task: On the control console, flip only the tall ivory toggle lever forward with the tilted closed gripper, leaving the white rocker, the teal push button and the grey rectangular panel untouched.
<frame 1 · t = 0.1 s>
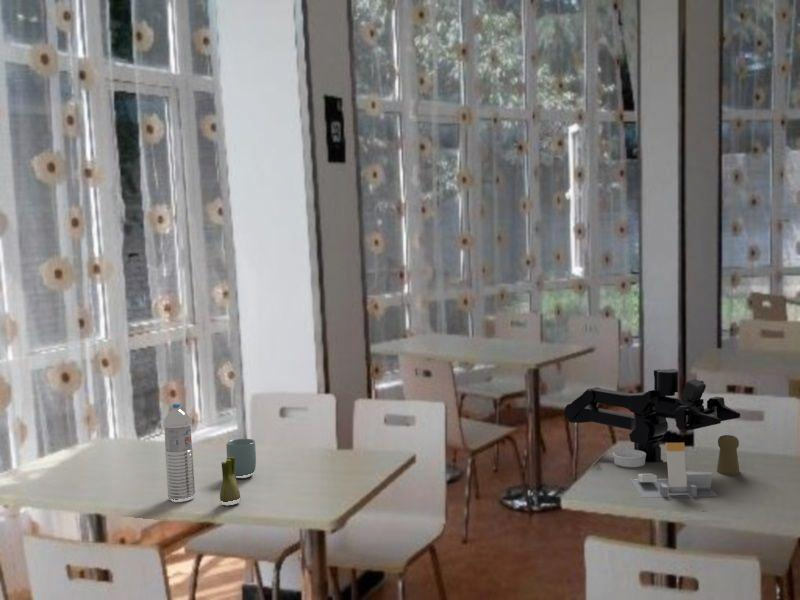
hand: (730, 418, 226), 17 cm above the table, tool horizontal, fingers open, 9 cm apart
grey rectangular panel: (698, 480, 216), point 4 cm above the table, hinge at 20.0°
rocker: (647, 477, 222), point 3 cm above the table, hinge at -12.0°
button: (691, 477, 221), point 3 cm above the table, slide at 0.0 cm
lever: (676, 467, 214), point 8 cm above the table, hinge at -15.0°
water bottle: (181, 499, 228), on the table
cup: (242, 477, 246), on the table
cork: (728, 477, 231), on the table
ramekin: (629, 469, 242), on the table
console: (672, 493, 220), on the table
fennel bulb: (230, 505, 222), on the table
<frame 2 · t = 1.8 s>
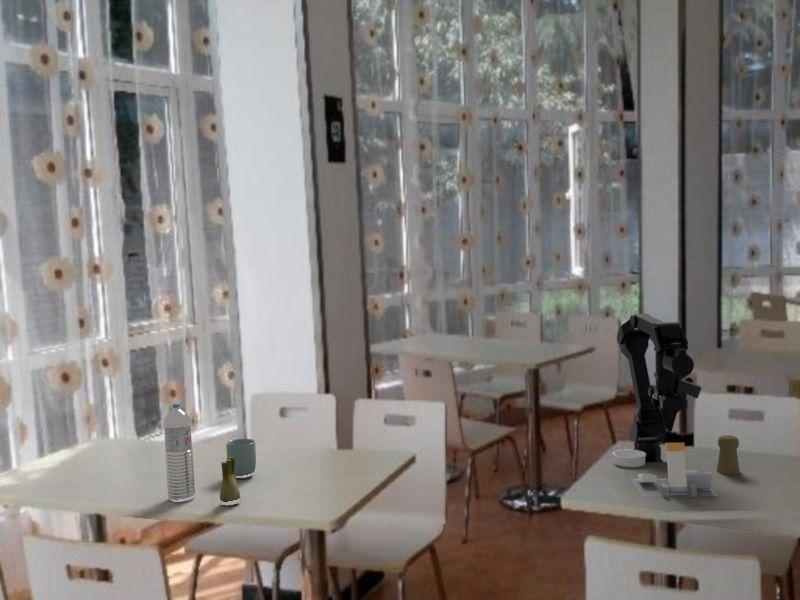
hand: (667, 428, 232), 13 cm above the table, tool pointing down, fingers open, 5 cm apart
nothing on the table moved.
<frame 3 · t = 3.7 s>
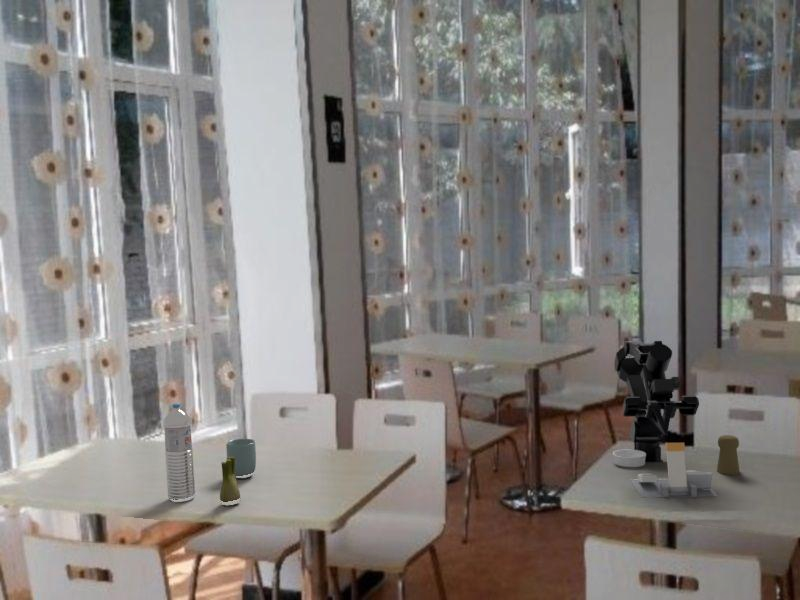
hand: (665, 434, 225), 13 cm above the table, tool tilted 45°, fingers closed
nothing on the table moved.
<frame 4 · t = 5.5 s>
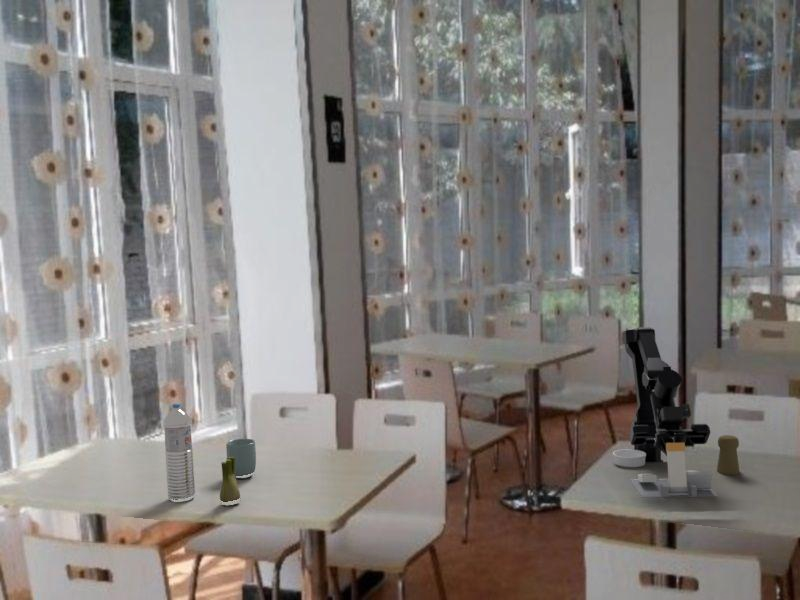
hand: (675, 464, 215), 8 cm above the table, tool tilted 45°, fingers closed, pressing on lever
lever: (676, 467, 214), point 8 cm above the table, hinge at -13.1°, touching gripper
everything else where it was.
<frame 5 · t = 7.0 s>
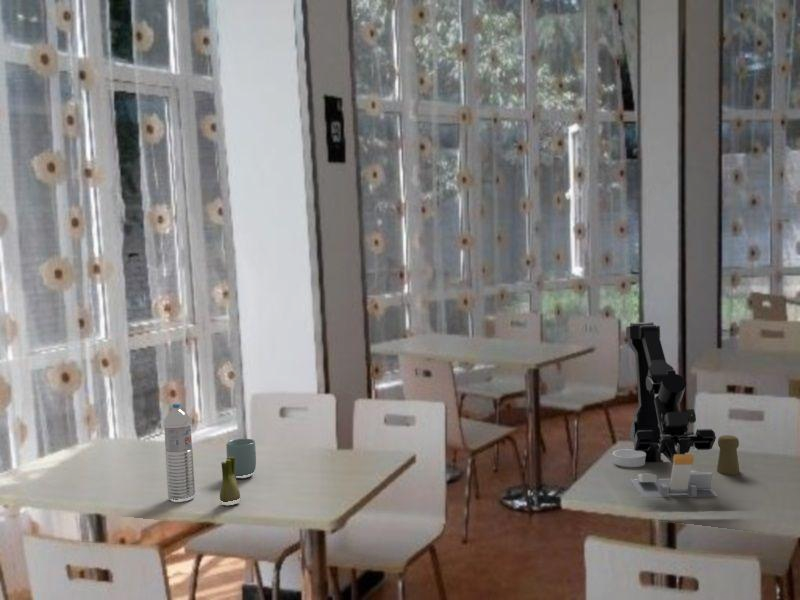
hand: (680, 470, 211), 8 cm above the table, tool tilted 45°, fingers closed, pressing on lever
lever: (680, 474, 211), point 7 cm above the table, hinge at 29.5°, touching gripper
everything else where it was.
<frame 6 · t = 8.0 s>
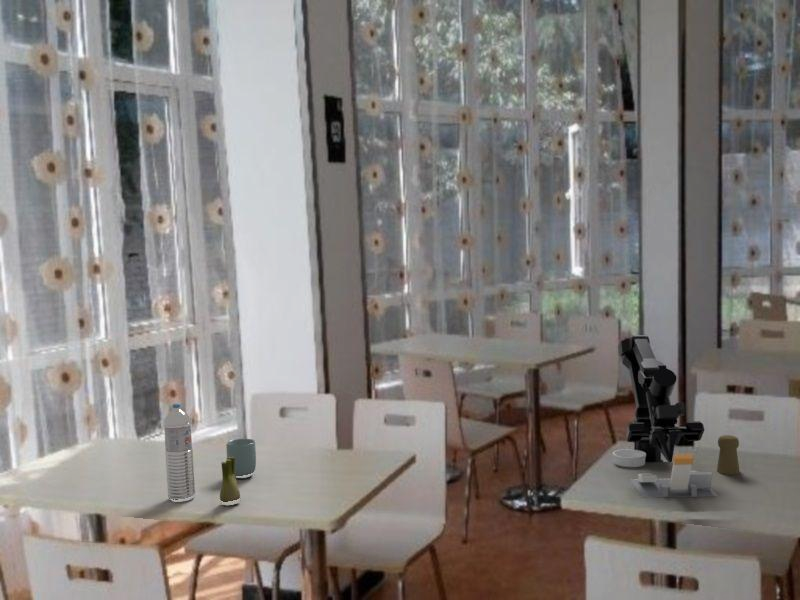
hand: (670, 461, 221), 8 cm above the table, tool tilted 45°, fingers closed
lever: (680, 474, 211), point 7 cm above the table, hinge at 29.6°
everything else where it was.
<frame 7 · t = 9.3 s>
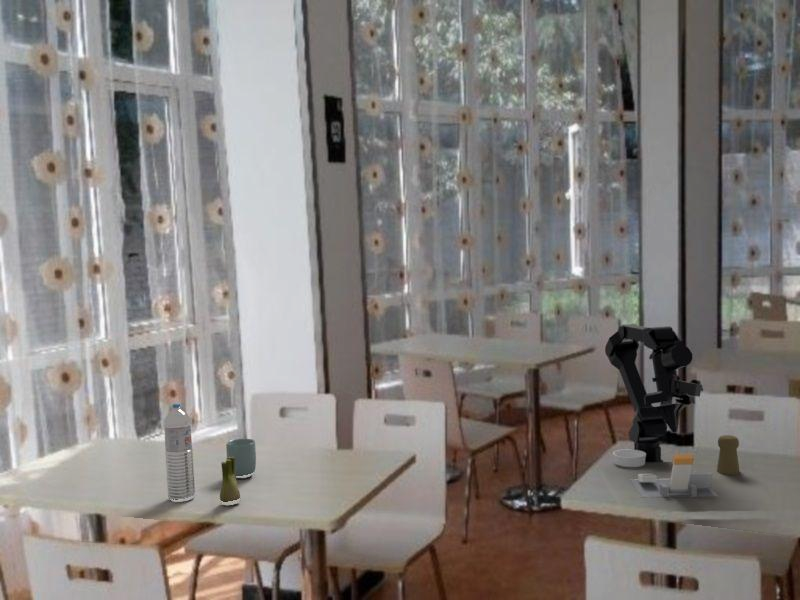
hand: (674, 432, 230), 12 cm above the table, tool tilted 20°, fingers closed
nothing on the table moved.
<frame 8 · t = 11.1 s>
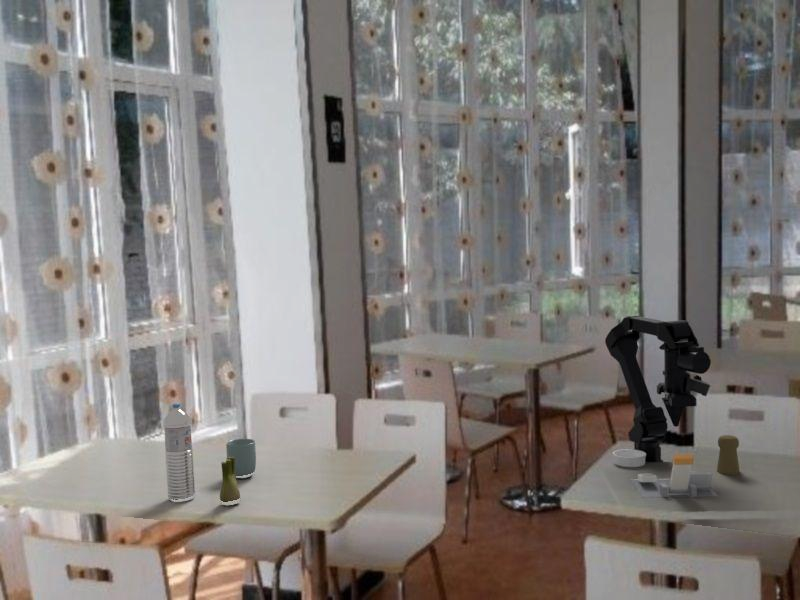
hand: (675, 426, 234), 13 cm above the table, tool pointing down, fingers closed
nothing on the table moved.
at the end: lever at +30° (first picture: -15°); rocker at -12° (first picture: -12°); grey rectangular panel at +20° (first picture: +20°) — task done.
